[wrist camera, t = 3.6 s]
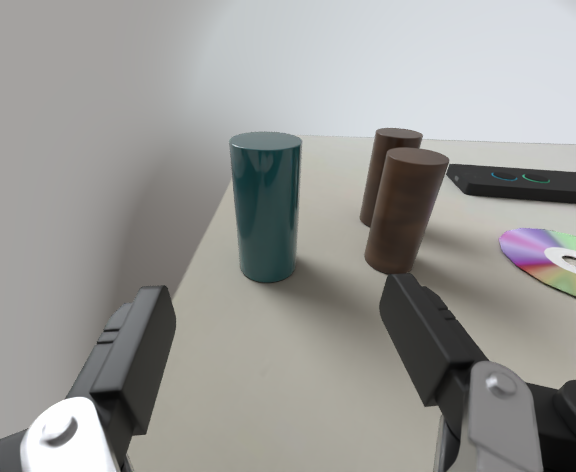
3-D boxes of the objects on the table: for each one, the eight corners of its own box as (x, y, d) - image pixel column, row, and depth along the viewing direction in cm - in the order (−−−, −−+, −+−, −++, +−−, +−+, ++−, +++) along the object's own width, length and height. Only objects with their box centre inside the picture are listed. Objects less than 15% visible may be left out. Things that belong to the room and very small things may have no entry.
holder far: (360, 227, 28) (378, 136, 23) (358, 209, 32) (373, 126, 27) (401, 231, 28) (428, 139, 23) (394, 213, 31) (417, 129, 26)
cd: (472, 229, 28) (472, 229, 28) (572, 227, 29) (572, 226, 29) (578, 316, 19) (579, 315, 19) (720, 308, 20) (721, 307, 20)
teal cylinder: (232, 278, 21) (217, 146, 16) (248, 245, 25) (241, 129, 20) (291, 286, 21) (297, 152, 15) (299, 250, 25) (305, 133, 19)
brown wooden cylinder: (366, 271, 22) (391, 162, 18) (362, 244, 26) (383, 145, 21) (417, 277, 22) (458, 167, 17) (407, 248, 25) (439, 149, 20)
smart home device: (448, 162, 42) (594, 172, 40) (444, 173, 43) (587, 183, 41) (470, 182, 35) (649, 196, 33) (465, 195, 36) (638, 209, 34)
